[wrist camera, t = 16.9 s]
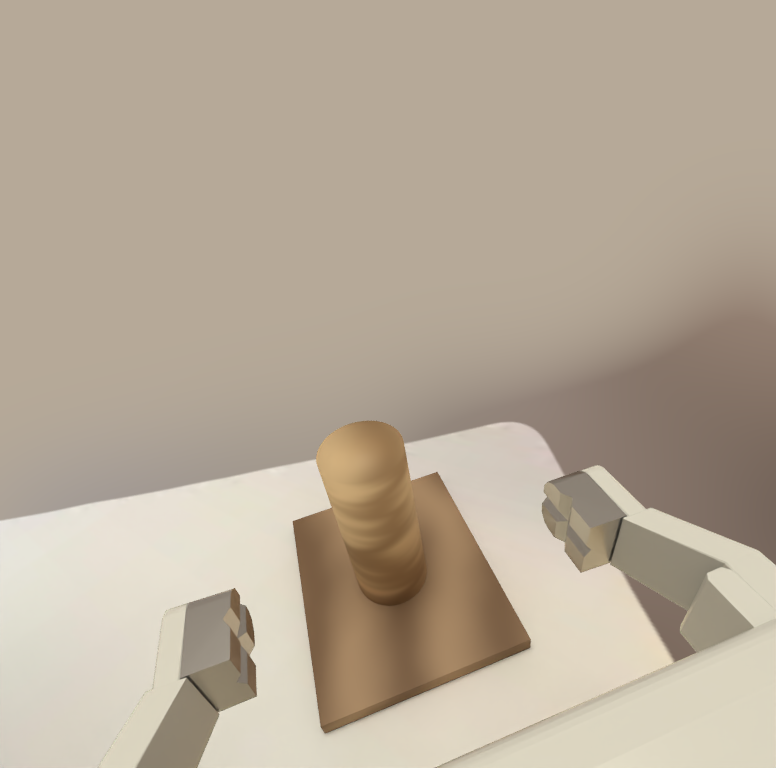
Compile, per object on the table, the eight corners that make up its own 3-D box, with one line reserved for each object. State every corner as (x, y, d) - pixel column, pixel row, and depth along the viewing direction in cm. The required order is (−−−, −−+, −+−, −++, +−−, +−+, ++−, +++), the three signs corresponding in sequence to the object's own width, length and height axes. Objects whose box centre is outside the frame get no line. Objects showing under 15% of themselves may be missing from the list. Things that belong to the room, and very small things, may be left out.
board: (325, 733, 25) (320, 726, 24) (296, 528, 37) (292, 521, 37) (530, 647, 27) (530, 639, 26) (438, 479, 39) (437, 471, 39)
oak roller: (366, 616, 29) (323, 495, 22) (351, 554, 33) (310, 435, 26) (437, 590, 30) (416, 465, 23) (413, 532, 34) (389, 411, 27)
